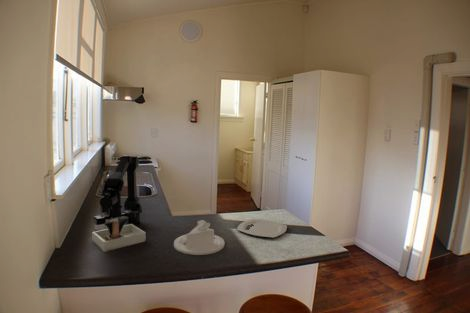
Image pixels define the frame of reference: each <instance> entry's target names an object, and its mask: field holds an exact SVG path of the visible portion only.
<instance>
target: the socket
mask: <svg viewBox="0 0 470 313" xmlns="http://www.w3.org/2000/svg"><path fill="white" fill-rule="evenodd" d="M121 237H125V236H123V235H122V234H121V233H119V237H118V238H121ZM114 239H117V238H114ZM105 240H106V241H108V240H113V239H111V235H106V236H105Z"/></svg>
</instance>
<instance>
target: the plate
mask: <svg viewBox="0 0 470 313" xmlns="http://www.w3.org/2000/svg"><path fill="white" fill-rule="evenodd" d="M251 224H253V225H254V226H252V227H250V229H249V230H245V229H246V227H247V226H248V225H251ZM287 228H288V225H287V224H284V223H281V222H277V221H273V220H268V219H259V218H251V219H246V220H244V221H243V222H240V224H239V225H238V226H237V228H236V230H237V231H238V232H241V233H244V234H247V235H250V236H255V237H260V238H261V237H263V238H271V239H273V238H274V239H275V238H277V237H279V236H282V235H283V234H285V233H286V232H287Z"/></svg>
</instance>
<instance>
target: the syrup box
mask: <svg viewBox="0 0 470 313" xmlns="http://www.w3.org/2000/svg"><path fill="white" fill-rule="evenodd" d="M113 221H118V219H112V220H110V222H113ZM94 225H95V226H94V228H95V231H100V230H104V229H108V228H107V226H106V225H105V224H101V225H96V224H95V223H94Z"/></svg>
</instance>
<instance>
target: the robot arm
mask: <svg viewBox="0 0 470 313" xmlns="http://www.w3.org/2000/svg"><path fill="white" fill-rule="evenodd" d="M139 165H140V158H139V157H138V156H136V155H120V158H119V162H118V164H117V166H116V168H115V170H114V171H113V173H111V174H109V175H108V176H107V177H106V179H105V182H104V186H103V189H102V194H104V195H103V197H101V198H100V200H99V205H100V207H99V209H100V213H101V214H100V215H95V216H93V218H92V222H93V223H94V225H95V224H96V225H101V224H105V225H106V226H107V228H108V231H109V233H110V235H112V223H111V222H110V220H112V219H118V221H119V233H120V232H121V230H122V228H123V226H124V225H126V223H127V225H128V224H133V225H137V224H142V222H141V220H140V219H141V218H140V217H141V214H142V213H143V207H142V204H141V202H140V198H139V196H137V174H136V173H137V169H138V168H139ZM125 174H126V180H127V181H126V182H127V183H126V184H127V186H126V187H127V197H126V199H125V200H124V204H123V205H122V192H123V189H124V187H125V186H124V185H125V181H124V176H125ZM122 208H123V209H124V211H123V213H122ZM103 214H104V215H103ZM105 215H106V216H105Z"/></svg>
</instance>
